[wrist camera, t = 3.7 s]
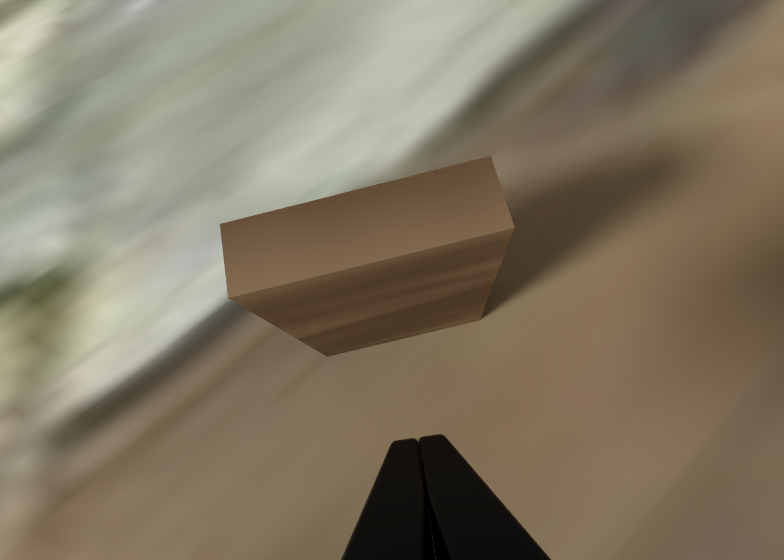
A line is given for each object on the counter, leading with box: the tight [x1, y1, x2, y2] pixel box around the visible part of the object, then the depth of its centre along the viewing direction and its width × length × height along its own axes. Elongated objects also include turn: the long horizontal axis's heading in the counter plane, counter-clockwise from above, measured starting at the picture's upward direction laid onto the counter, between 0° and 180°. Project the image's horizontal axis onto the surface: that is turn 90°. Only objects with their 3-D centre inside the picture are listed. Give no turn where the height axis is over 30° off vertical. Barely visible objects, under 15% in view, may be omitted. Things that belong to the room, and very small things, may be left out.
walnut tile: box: [220, 156, 515, 357], centre depth 16 cm, size 2×7×10 cm, turn 104°
